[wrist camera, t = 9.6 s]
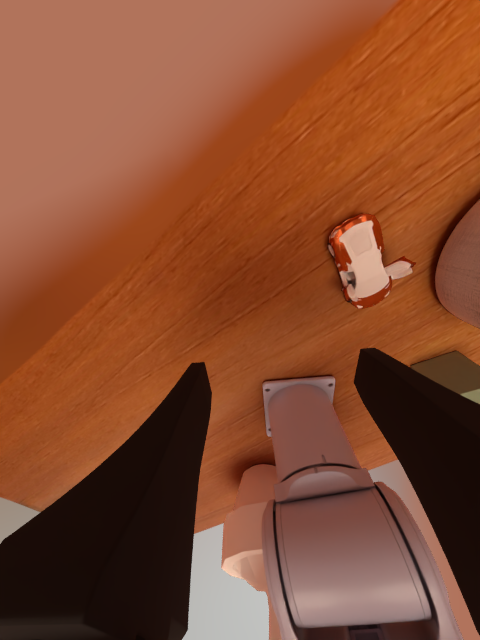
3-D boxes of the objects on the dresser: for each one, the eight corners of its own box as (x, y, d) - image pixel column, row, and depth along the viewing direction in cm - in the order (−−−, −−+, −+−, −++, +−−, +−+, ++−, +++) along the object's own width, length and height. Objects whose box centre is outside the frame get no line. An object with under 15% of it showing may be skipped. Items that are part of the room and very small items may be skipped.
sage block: (457, 379, 24) (500, 413, 20) (414, 392, 25) (447, 427, 21) (456, 350, 22) (504, 381, 18) (410, 365, 23) (446, 398, 19)
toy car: (340, 314, 20) (356, 332, 17) (312, 235, 17) (327, 241, 14) (398, 290, 19) (425, 304, 16) (380, 199, 16) (410, 197, 13)
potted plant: (299, 490, 36) (394, 949, 14) (230, 493, 36) (214, 941, 14) (303, 445, 30) (483, 1127, 8) (220, 449, 30) (168, 1103, 8)
